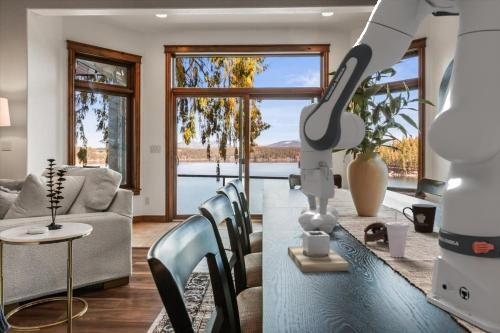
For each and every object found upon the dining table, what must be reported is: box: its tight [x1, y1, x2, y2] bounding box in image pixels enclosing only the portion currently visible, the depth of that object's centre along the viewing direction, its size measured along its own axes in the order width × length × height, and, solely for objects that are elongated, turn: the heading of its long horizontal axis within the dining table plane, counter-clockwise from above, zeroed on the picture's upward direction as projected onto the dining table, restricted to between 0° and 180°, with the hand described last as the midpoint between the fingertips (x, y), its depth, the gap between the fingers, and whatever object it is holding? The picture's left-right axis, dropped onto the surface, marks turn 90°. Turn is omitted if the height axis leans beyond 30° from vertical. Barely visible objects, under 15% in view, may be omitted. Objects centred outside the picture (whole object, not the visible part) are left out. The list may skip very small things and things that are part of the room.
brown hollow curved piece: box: [363, 221, 389, 245], centre depth 123 cm, size 12×10×8 cm
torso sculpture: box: [297, 203, 340, 235], centre depth 144 cm, size 16×11×30 cm
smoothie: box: [385, 208, 410, 259], centre depth 107 cm, size 6×6×14 cm
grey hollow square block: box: [302, 230, 331, 255], centre depth 102 cm, size 6×6×5 cm
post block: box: [287, 232, 349, 273], centre depth 102 cm, size 18×12×8 cm, turn 6°
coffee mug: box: [402, 203, 438, 234], centre depth 143 cm, size 12×9×10 cm
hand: (317, 212), depth 102 cm, fingers open, 8 cm apart
